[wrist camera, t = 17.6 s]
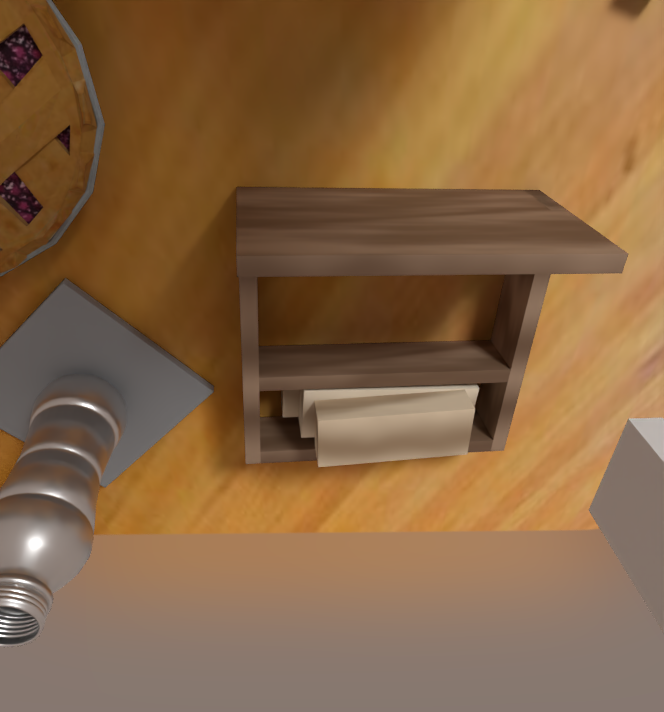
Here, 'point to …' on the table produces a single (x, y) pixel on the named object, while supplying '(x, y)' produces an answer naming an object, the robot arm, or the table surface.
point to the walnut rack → (403, 257)
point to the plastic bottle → (54, 498)
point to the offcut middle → (339, 393)
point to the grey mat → (96, 371)
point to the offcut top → (392, 427)
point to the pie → (43, 129)
